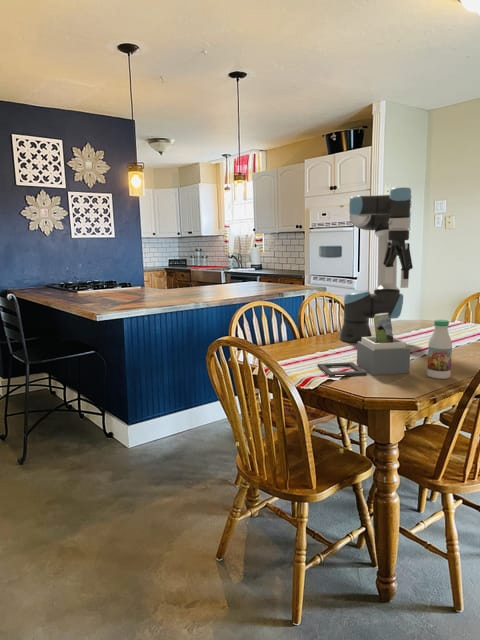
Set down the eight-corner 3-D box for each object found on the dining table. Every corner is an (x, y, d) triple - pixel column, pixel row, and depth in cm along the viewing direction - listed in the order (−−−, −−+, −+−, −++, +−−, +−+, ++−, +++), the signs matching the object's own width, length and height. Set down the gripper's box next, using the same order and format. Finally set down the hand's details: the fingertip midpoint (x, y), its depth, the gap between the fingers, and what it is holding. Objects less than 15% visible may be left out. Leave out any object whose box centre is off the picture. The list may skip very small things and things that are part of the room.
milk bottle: (422, 373, 170) (425, 318, 166) (443, 372, 170) (446, 318, 167) (433, 379, 162) (436, 322, 159) (454, 379, 163) (458, 322, 159)
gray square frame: (317, 366, 181) (317, 363, 181) (352, 364, 183) (352, 362, 182) (328, 376, 167) (328, 374, 167) (366, 374, 169) (366, 372, 169)
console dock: (356, 364, 183) (357, 336, 181) (390, 362, 185) (392, 334, 183) (372, 375, 169) (373, 345, 167) (409, 373, 170) (410, 343, 169)
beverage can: (394, 347, 172) (395, 314, 170) (373, 346, 173) (374, 314, 171) (392, 343, 178) (393, 311, 176) (372, 342, 179) (373, 311, 177)
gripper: (376, 229, 190) (374, 282, 195) (404, 230, 166) (401, 289, 170) (394, 229, 191) (391, 281, 195) (424, 229, 167) (421, 289, 171)
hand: (396, 285), depth 183 cm, fingers open, 13 cm apart
